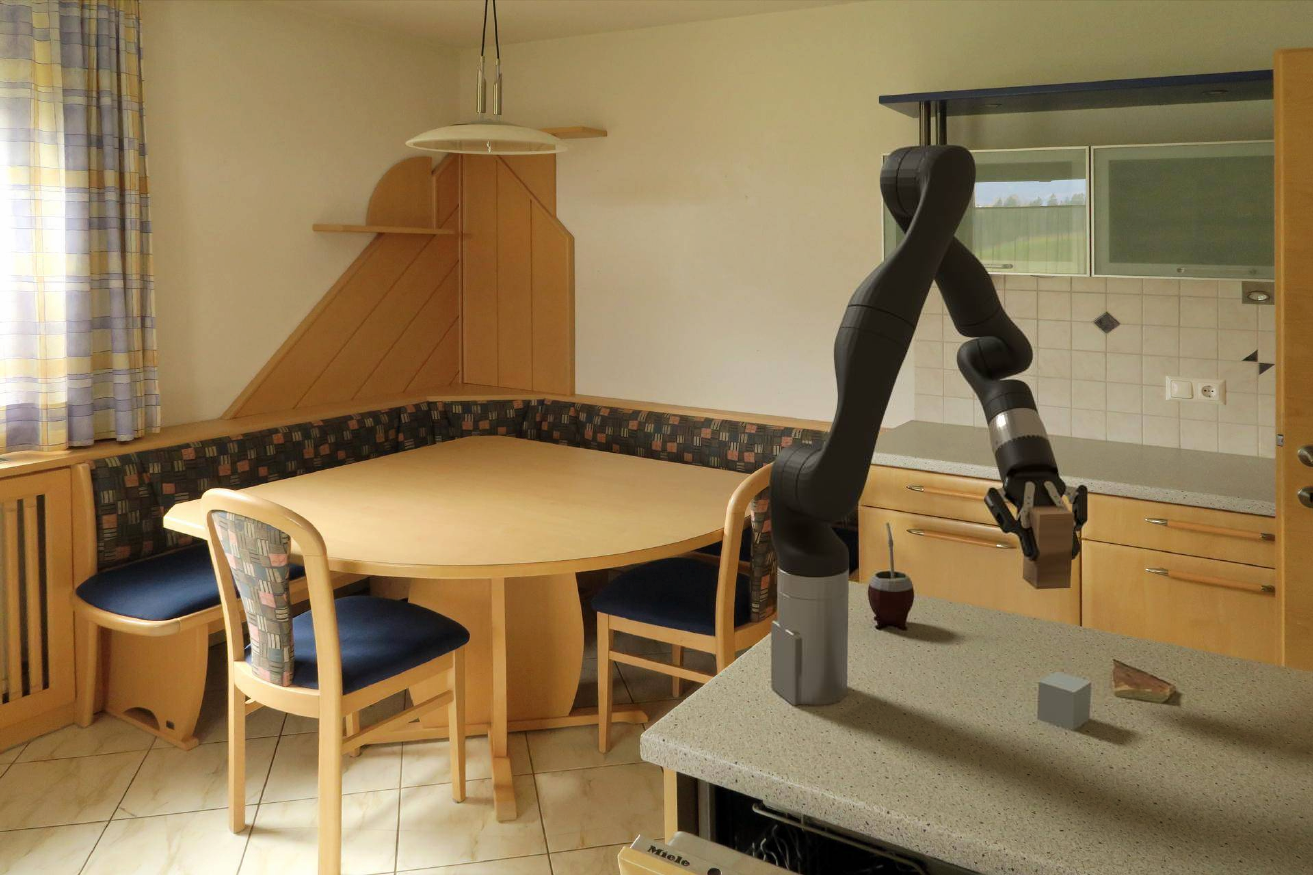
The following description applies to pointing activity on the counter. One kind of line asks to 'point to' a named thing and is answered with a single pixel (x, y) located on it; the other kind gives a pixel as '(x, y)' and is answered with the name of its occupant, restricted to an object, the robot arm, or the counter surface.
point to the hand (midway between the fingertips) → (1054, 557)
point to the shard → (1139, 684)
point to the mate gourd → (890, 595)
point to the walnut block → (1050, 547)
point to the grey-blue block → (1064, 700)
